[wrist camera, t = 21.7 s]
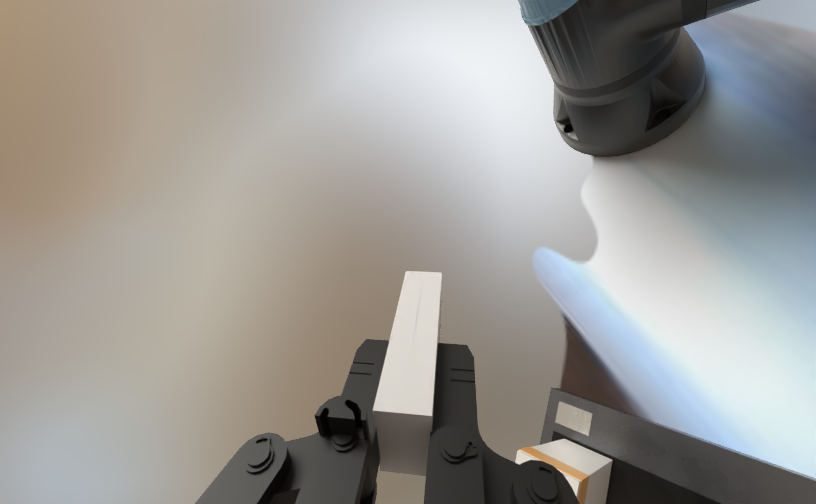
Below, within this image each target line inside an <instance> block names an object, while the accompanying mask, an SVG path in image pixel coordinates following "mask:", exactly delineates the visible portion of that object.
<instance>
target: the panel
mask: <svg viewBox="0 0 816 504" xmlns="http://www.w3.org/2000/svg"><path fill="white" fill-rule="evenodd" d="M561 439H566V440H569V441H571V442H573V443H575V444H578V445H580V446H582V447H585V448H587V449H589V450H591V451H594V452H596V453H598V454H600V455H603V456H605V457H607V458H609V459H612V460H613V461H612V467H611V473H610V479H609V486H608V492H607V498H606V504H816V479H815V478H812V477H809V476H806V475H804V474H801V473H798V472H795V471H792V470H789V469H786V468H784V467H781V466H778V465H775V464H772V463H769V462H766V461H764V460H761V459H758V458H755V457H752V456H749V455H746V454H744V453H741V452H738V451H735V450H732V449H729V448H726V447H724V446H721V445H718V444H715V443H712V442H709V441H707V440H704V439H701V438H698V437H695V436H692V435H689V434H687V433H684V432H681V431H678V430H675V429H672V428H669V427H667V426H664V425H661V424H658V423H655V422H652V421H649V420H647V419H644V418H641V417H638V416H635V415H632V414H629V413H627V412H624V411H621V410H618V409H615V408H612V407H609V406H607V405H604V404H601V403H598V402H595V401H592V400H590V399H587V398H584V397H581V396H578V395H575V394H572V393H570V392H567V391H564V390H561V389H558V388H551V391H550V396H549V401H548V406H547V412H546V417H545V421H544V426H543V431H542V436H541V441H540V445H542V444H545V443H549V442H553V441H557V440H561Z"/></svg>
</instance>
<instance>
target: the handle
mask: <svg viewBox="0 0 816 504" xmlns="http://www.w3.org/2000/svg"><path fill="white" fill-rule="evenodd" d="M529 460H539V461H543V462H546V463H548V464H550V465H553V466H554V467H555V468H556V469H557V470H559V471H560V472H561V473H562V474H563V475H564V476H565V478H566V479H567V481H568V482H569V484H570V485H571V487H572V489H573V491H574V493H575V495H576V497H577V499H578V501H579V503H580V504H606V498H607V492H608V486H609V479H610V473H611V467H612V461H613V460H612V459H609V458H607V457H605V456H603V455H600V454H598V453H596V452H594V451H591V450H589V449H587V448H585V447H582V446H580V445H578V444H575V443H573V442H571V441H569V440H566V439H561V440H557V441H553V442H549V443H545V444H542V445H538V446H534V447H526V448H522V449H520V450H519V451H518V452H517V456H516V461H515V463H517V464H519V465H520V464H521V463H524V462H526V461H529Z"/></svg>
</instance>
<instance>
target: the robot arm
mask: <svg viewBox="0 0 816 504" xmlns="http://www.w3.org/2000/svg"><path fill="white" fill-rule="evenodd" d="M518 1H519V4H520V6H521V13H522V18H523V20H524V21H525V23H526V24H527V25H528V27H529V29H530V31H531V33H532V36H533V38H534V40H535V42H536V44H537V46H538V48H539V51H540V53H541V55H542V57H543V59H544V62H545V64H546V66H547V68H548V70H549V72H550V74H551V77H552V79H553V81H554V119H555V123H556V126H557V128H558V130H559V132H560V134H561V136H562V138H563V139H564V141H565V142H566V143H567V144H568V145H569V146H570V147H572V148H573V149H575V150H577V151H579V152H581V153H584V154H588V155H594V156H616V155H622V154H627V153H631V152H634V151H637V150H640V149H643V148H645V147H648V146H650V145H652V144H654V143H656V142H658V141H660V140H662V139H663V138H665V137H666V136H668V135H669V134H671V133H672V132H673V131H675V130H676V129H677V128H678V127H680V126H681V125H682V124H683V123H684V122H685V121H686V120H687V119H688V118H689V116H690V115H691V114H692V113H693V111H694V110H695V108H696V107H697V105H698V103H699V101H700V99H701V97H702V94H703V91H704V86H705V64H704V59H703V56H702V54H701V51H700V50H699V48H698V47H697V45H696V44H695V43H694V41H693V40H692V38H691V37H690V36H689V34H688V33H687V31H686V30H685V28H684V27H683V26H685V25H688V24H691V23H694V22H697V21H699V20H702V19H706V18H708V17H711V16H714V15H717V14H720V13H723V12H726V11H729V10H732V9H735V8H738V7H741V6H744V5H747V4H750V3H753V2H756V1H759V0H518ZM441 288H442V273H437V272H413V271H406V274H405V278H404V282H403V287H402V291H401V295H400V299H399V303H398V307H397V311H396V316H395V320H394V324H393V329H392V332H391V336H390V341H386V340H371V339H366V340H365V341H364V343H363V344H362V345H361V346H360V347H359V348H358V349H357V352H356V354H355V357H354V360H353V364H352V366H351V369H350V372H349V375H348V378H347V380H346V383H345V386H344V389H343V392H342V395H341V396H337V397H334V398H332V399H329V400H328V401H326V402H325V403H324V404H323V405H322V406H320V408H319V409H318V411H317V413H316V414H315V419H316V423H317V426H318V430H319V432H317V433H316V434H314V435H311V436H308V437H304V438H300V439H296V440H291V441H286V442H285V441H284V439H283V438H282V437H281V436H279V435H278V434H274V433H265V434H261V435H257V436H255V437H254V438H252V439H250V440H248V441H247V442H246V443H245V444H244V445H243V446H242V447H241V448H240V449H239V450H238V451H237V452H236V454H235V455H234V456H233V458H232V459H231V460H230V461H229V462H228V464H227V465H226V466H225V467H224V468H223V470H222V471H221V472H220V474H219V475H218V476H217V477H216V478H215V480H214V481H213V482H212V483H211V485H210V486H209V487H208V488H207V489H206V491H205V492H204V493H203V494H202V496H201V497H200V498H199V499H198V501H197V502H196V503H195V504H375V500H376V495H377V483H376V478H377V472H378V467H379V464H380V471H389V472H396V473H405V474H414V475H423V476H426V483H425V496H424V504H580V503H579V501H578V499H577V497H576V495H575V493H574V491H573V489H572V487H571V485H570V484H569V482H568V481H567V479H566V478H565V476H564V475H563V474H562V473H561V472H560V471H559V470H557V469H556V468H555V467H554V466H553V465H550V464H548V463H546V462H543V461H539V460H529V461H526V462H524V463H521V464H520V465H519V464H517V463H515V462H513V461H510V460H508V459H506V458H504V457H502V456H500V455H498V454H496V453H495V452H493V451H492V450H491V449H490V448H489V447H488V446H487V445H486V444H485V442H484V441H483V440H482V438H481V436H480V433H479V430H478V423H477V405H476V389H475V373H474V357H473V355H472V353H471V351H470V350H469V348H468V346H467V345H458V344H443V343H440V329H441V293H442V290H441Z"/></svg>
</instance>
